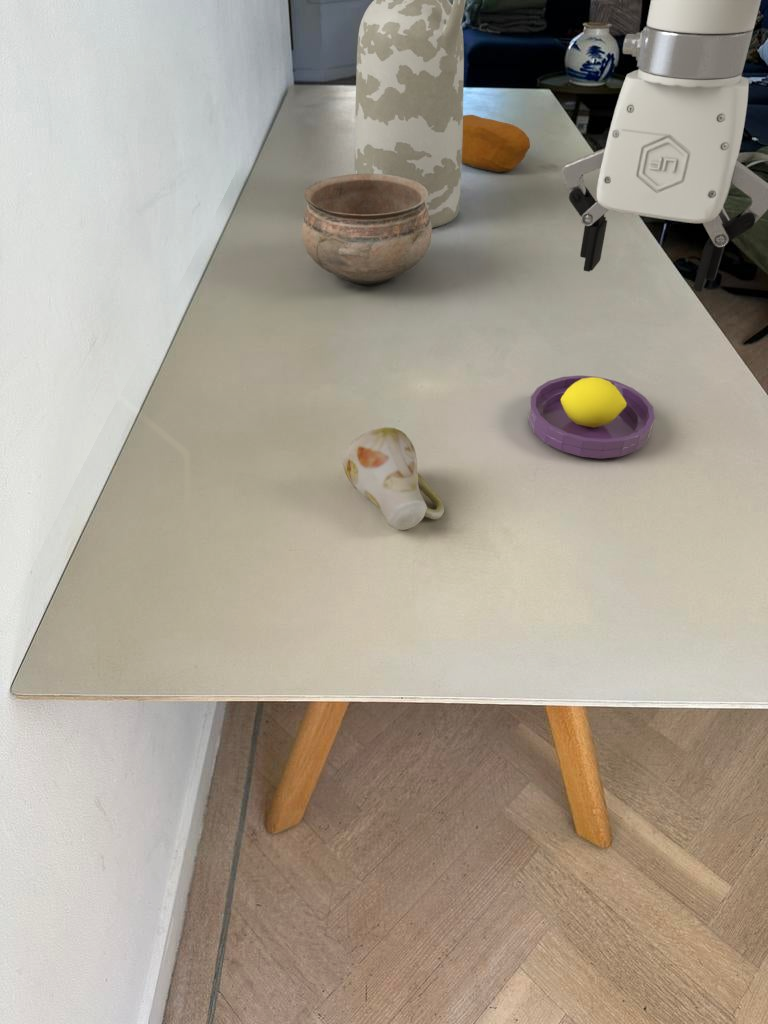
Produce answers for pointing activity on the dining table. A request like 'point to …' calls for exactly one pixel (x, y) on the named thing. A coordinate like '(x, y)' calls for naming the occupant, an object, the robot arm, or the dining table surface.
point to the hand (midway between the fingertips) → (644, 275)
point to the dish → (588, 441)
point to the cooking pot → (366, 226)
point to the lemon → (592, 402)
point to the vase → (412, 97)
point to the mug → (390, 477)
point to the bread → (492, 144)
